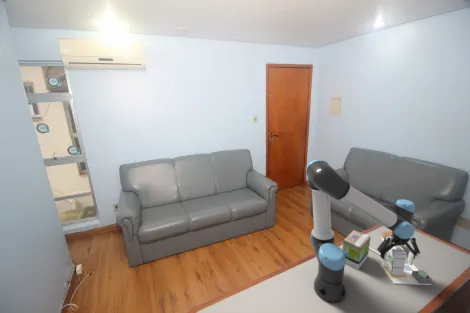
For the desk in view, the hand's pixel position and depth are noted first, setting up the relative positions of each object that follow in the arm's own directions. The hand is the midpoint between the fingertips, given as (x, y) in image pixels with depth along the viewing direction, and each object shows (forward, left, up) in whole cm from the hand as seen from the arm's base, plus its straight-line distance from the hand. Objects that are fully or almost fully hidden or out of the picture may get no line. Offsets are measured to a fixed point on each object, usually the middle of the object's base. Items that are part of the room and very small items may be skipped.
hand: (396, 263), depth 120 cm
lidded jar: (+10, +22, -6) cm, 25 cm away
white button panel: (+4, -1, -6) cm, 7 cm away
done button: (+10, -5, -4) cm, 12 cm away
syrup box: (0, 0, -5) cm, 6 cm away
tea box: (-17, +10, -6) cm, 21 cm away
